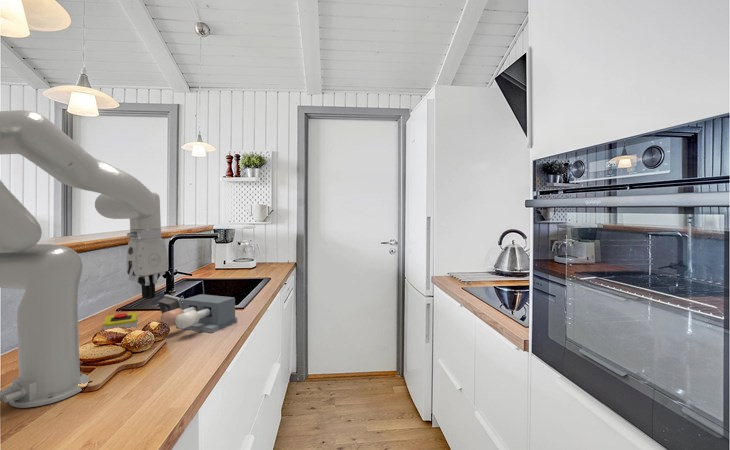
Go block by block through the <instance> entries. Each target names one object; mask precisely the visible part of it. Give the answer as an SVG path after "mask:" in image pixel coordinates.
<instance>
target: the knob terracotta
mask: <svg viewBox="0 0 730 450" xmlns="http://www.w3.org/2000/svg"><path fill="white" fill-rule="evenodd" d="M191 310H196V311H197V306H194V307H190V308H187V309H184V310H182V309H180V308H177V309H174V310H171V311H168V312H165V313H163V314H162V313H161V315H160V323H161V322H164V323H166V324H167V325H168V327H170V326H174V325H176V322H175V319H176V317H177V315H179V314H182V313H185V312H188V311H191Z"/></svg>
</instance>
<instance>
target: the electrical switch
mask: <svg viewBox="0 0 730 450" xmlns="http://www.w3.org/2000/svg"><path fill="white" fill-rule="evenodd" d="M157 303H158V307H159V309H160V311H161V315H162V314H163V313H165V312H168V311H171V310H174V309H177V308H180V309H182V310H183V301H182V300H181V298H180V297H178V296H175V295H170V294H164V296H163V298H161V299H160V300H158V301H157Z"/></svg>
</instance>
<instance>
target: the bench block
mask: <svg viewBox="0 0 730 450" xmlns="http://www.w3.org/2000/svg"><path fill="white" fill-rule="evenodd" d="M182 305H183V310H184V309H187V308H190V307H194V306H197V312H198V311H201V310H204V309H207V308H211V315H209V316H206V317H203V318H201V319H199V322H198V323H196V324H194V325H191V326H189V327H186V328H183V329H182V330H188V331H196V332H202V333H208V334H209V333H210V334H213V333H215V332H217V331H220V330H221V329H224V328H226V326H227V327H228V326H230V325H233V324H235V322H236V323H238V316H237V317H236V298H235V297H234V296H233V297H232V296H221V295H213V294H212V295H211V294H203V293H201V294H197V295H194V296H189V297H187V298H183V299H182ZM175 329H179V328H178V327H177V325H176V324H175Z"/></svg>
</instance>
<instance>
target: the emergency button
mask: <svg viewBox="0 0 730 450" xmlns="http://www.w3.org/2000/svg"><path fill="white" fill-rule="evenodd" d="M137 322H138V323H139V317H138V312H134V311H133V312H124V313H118V314H110V315H107V316H105V318H104V321H103V324H102V331H103V330H105V329H109V328H113V327H125V328H131V327H137V328H138V324H137Z"/></svg>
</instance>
